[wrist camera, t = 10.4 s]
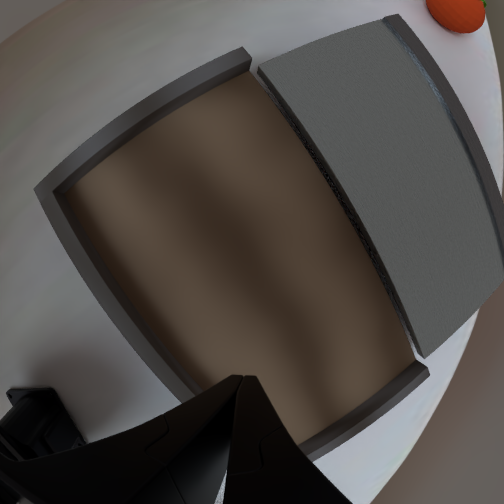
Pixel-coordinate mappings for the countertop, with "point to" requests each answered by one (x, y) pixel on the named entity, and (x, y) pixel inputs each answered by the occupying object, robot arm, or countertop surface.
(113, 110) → the countertop surface
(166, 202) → the tray
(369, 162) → the panel
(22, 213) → the countertop surface
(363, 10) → the countertop surface
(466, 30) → the clementine
